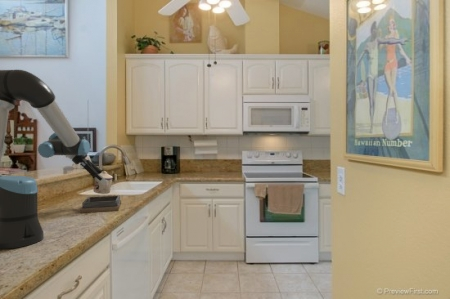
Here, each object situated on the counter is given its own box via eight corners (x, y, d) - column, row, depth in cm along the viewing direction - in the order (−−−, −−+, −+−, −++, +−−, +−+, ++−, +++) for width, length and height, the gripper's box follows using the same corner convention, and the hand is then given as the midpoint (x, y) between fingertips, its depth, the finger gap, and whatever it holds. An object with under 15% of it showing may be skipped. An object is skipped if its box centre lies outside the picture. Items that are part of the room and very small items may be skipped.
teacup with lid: (91, 189, 158) (94, 169, 157) (107, 189, 164) (110, 170, 163) (96, 195, 149) (100, 174, 148) (114, 195, 155) (117, 175, 154)
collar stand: (118, 210, 149) (118, 201, 149) (80, 213, 144) (80, 203, 144) (121, 203, 168) (121, 194, 168) (88, 205, 163) (88, 196, 163)
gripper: (76, 158, 163) (105, 184, 167) (65, 161, 140) (99, 190, 145) (86, 149, 164) (115, 175, 169) (77, 150, 142) (110, 180, 146)
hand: (107, 182), depth 157 cm, fingers closed on teacup with lid, 11 cm apart
